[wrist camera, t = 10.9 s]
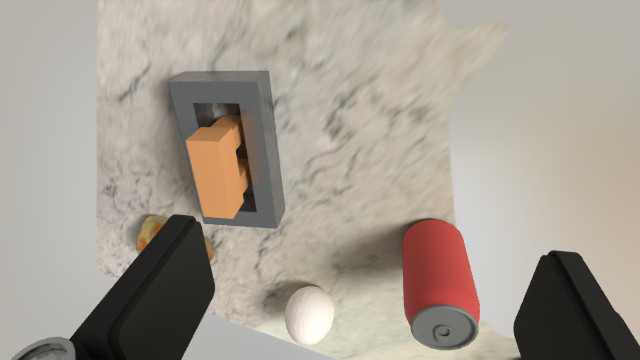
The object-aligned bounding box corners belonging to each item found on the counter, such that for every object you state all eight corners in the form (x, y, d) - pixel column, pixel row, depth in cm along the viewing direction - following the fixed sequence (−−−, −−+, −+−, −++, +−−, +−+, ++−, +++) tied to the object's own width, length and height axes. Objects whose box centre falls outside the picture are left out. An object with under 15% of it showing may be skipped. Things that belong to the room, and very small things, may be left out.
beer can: (400, 259, 44) (402, 350, 34) (403, 214, 41) (407, 299, 31) (458, 264, 43) (478, 359, 33) (466, 218, 40) (492, 307, 29)
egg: (320, 313, 51) (310, 364, 45) (284, 291, 50) (268, 340, 44) (346, 291, 48) (339, 342, 42) (308, 267, 47) (295, 316, 41)
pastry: (219, 229, 47) (206, 250, 44) (215, 266, 50) (202, 287, 47) (148, 208, 47) (130, 227, 44) (149, 246, 51) (132, 266, 47)
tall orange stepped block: (220, 110, 38) (185, 140, 32) (248, 111, 38) (218, 141, 31) (232, 177, 42) (203, 216, 36) (257, 179, 42) (233, 218, 35)
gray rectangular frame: (185, 71, 37) (167, 81, 34) (268, 71, 35) (257, 81, 32) (216, 206, 45) (203, 223, 42) (285, 210, 43) (277, 228, 40)
